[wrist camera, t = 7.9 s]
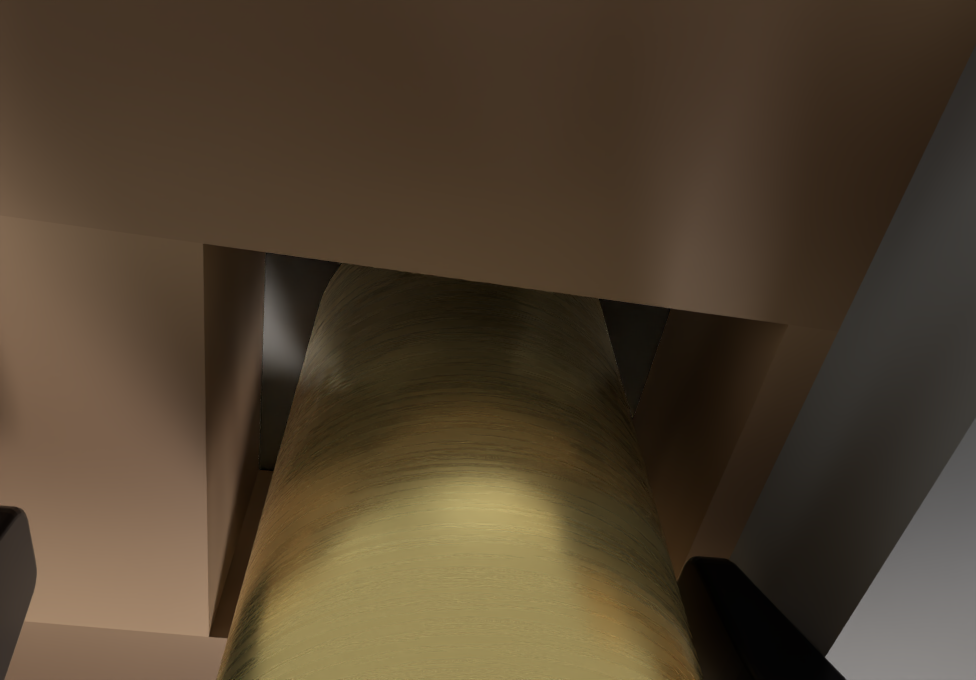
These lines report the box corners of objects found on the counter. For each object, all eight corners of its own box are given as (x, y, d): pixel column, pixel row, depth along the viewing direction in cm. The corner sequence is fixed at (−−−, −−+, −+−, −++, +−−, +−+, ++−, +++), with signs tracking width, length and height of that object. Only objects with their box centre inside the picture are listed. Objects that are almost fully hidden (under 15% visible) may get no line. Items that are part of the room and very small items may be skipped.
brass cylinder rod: (568, 468, 13) (686, 1202, 6) (307, 438, 12) (125, 1200, 6) (638, 237, 11) (937, 980, 4) (325, 191, 10) (68, 943, 4)
